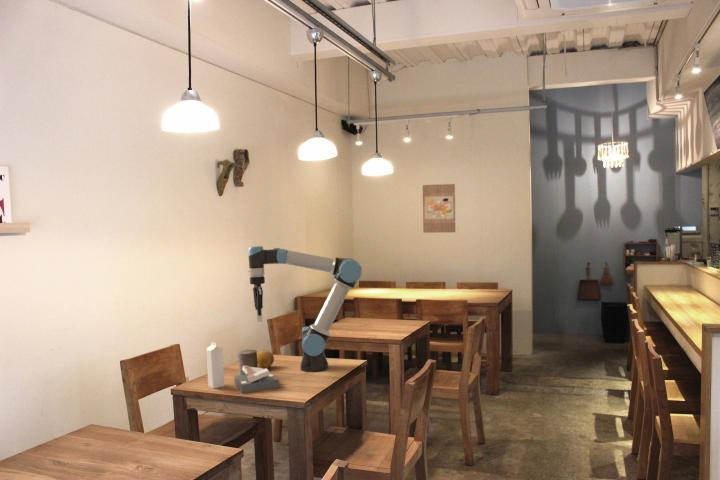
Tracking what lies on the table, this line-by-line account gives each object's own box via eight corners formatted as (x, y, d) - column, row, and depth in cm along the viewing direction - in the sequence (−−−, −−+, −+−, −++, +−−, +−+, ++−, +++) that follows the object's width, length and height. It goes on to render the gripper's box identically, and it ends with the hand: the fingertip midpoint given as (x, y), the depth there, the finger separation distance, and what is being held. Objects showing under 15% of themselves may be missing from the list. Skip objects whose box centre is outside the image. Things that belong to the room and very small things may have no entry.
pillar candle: (261, 375, 315) (260, 347, 315) (251, 380, 306) (249, 351, 306) (246, 374, 319) (245, 346, 319) (235, 379, 311) (233, 350, 310)
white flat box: (267, 371, 294) (266, 367, 293) (269, 374, 289) (268, 369, 289) (248, 380, 290) (246, 376, 290) (250, 382, 285) (248, 378, 285)
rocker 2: (264, 374, 299) (264, 370, 299) (266, 376, 295) (267, 372, 295) (244, 372, 296) (245, 367, 296) (246, 374, 291) (247, 369, 291)
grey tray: (269, 379, 307) (269, 369, 307) (279, 387, 290) (278, 377, 290) (234, 384, 301) (234, 374, 301) (241, 393, 283) (241, 382, 283)
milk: (213, 388, 294) (210, 344, 293) (208, 386, 299) (205, 342, 298) (224, 386, 297) (222, 342, 297) (219, 384, 302) (217, 340, 302)
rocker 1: (261, 372, 305) (262, 367, 305) (263, 374, 300) (264, 369, 301) (242, 369, 301) (243, 365, 301) (243, 371, 297) (244, 367, 297)
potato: (253, 371, 325) (252, 353, 325) (257, 366, 338) (256, 348, 337) (272, 370, 325) (271, 352, 325) (275, 365, 338) (274, 347, 337)
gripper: (247, 275, 314) (249, 320, 314) (252, 277, 302) (254, 324, 302) (261, 274, 317) (263, 319, 317) (267, 276, 304) (269, 322, 305)
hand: (259, 321), depth 310 cm, fingers closed
